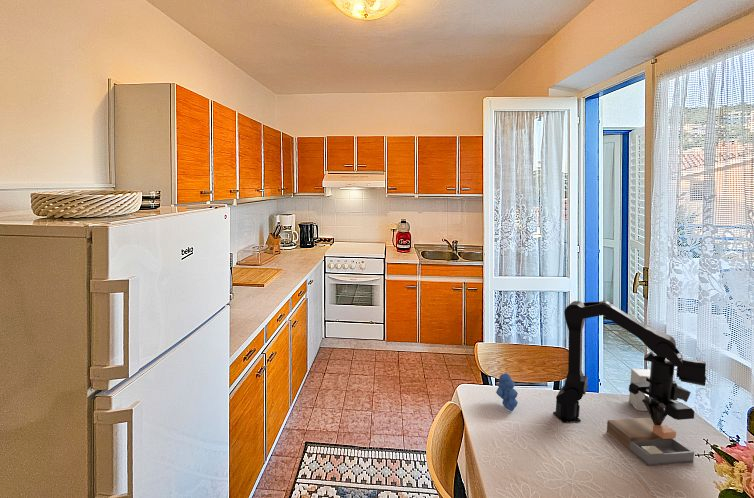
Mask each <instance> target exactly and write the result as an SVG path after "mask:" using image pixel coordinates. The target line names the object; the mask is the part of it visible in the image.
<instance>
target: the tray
mask: <svg viewBox="0 0 754 498" xmlns="http://www.w3.org/2000/svg"><path fill="white" fill-rule="evenodd" d="M641 446H655V447H656V448H658V449H659V450H660V451H662V452H663V453H661V454H648V453H647V452H646V451H644V450H643V449H642V448H641ZM628 451H629V452H630V453H631V454H632V455H634V456H635V457H636V458H638V459H639V460H640V461H641V462H642V463H644V464H645V465H647V467H650V466H651V467H652V466H664V465H665V466H666V465H675V464H686V463H694V460H695V459H694V458H695V451H693V450H692V449H690V448H689V447H688V446H686V445H684V444H683V443H681V442H680V441H678V440H677V439H676V438H671V439H652V440H639V441H630V449H629V450H628Z"/></svg>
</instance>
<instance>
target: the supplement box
mask: <svg viewBox="0 0 754 498" xmlns="http://www.w3.org/2000/svg"><path fill="white" fill-rule="evenodd" d="M650 370H651V369H648V368H647V369H645V368H643V369H642V368H631V371H630V380H629V381H630V382H629V385H630V384H631V383H633V382H646V383H647V384H649V382H648V381H646V377H650ZM628 396H629V397H628V401H629V403H630V404H631V405H632V406H633V407H634V408H635V410H636V411H643V412H648V410H647V408H646V406H645V404H644V402H642V400H643V399H644V398H645V396H644V393H642V392H640V391H638V394H633V393H631V392H630V391H629V395H628Z"/></svg>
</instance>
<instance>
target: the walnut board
mask: <svg viewBox="0 0 754 498" xmlns="http://www.w3.org/2000/svg"><path fill="white" fill-rule="evenodd" d="M653 425H654V423H653V421H652V418H649V417H638V418H636V417H635V418H625V419H624V418H622V419H609V420H607V423H606V434H608V435H610V436H611V437H612V438H613V439H615V441H617V442H618V443H619V444H620V445H622V446H623V447H624V448H626V450H627V451H629V449H630V441H639V440H652V439H662V438H661V437H659V436H658V435H657V434H655V433H654V432H653Z"/></svg>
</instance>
